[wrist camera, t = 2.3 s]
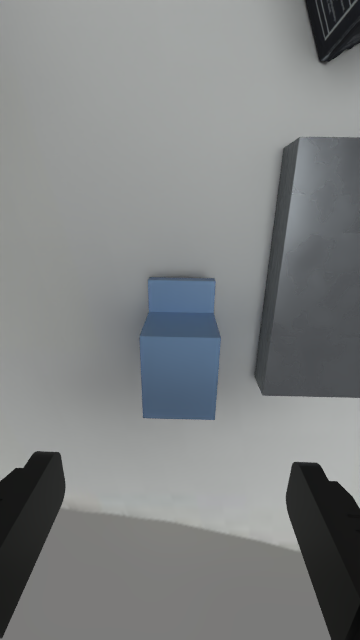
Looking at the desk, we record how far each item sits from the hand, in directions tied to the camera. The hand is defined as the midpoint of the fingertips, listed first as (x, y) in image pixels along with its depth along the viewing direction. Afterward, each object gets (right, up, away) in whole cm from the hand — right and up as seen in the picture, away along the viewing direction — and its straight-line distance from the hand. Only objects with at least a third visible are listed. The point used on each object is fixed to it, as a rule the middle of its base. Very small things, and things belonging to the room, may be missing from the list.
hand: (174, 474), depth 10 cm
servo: (0, +5, +11) cm, 12 cm away
